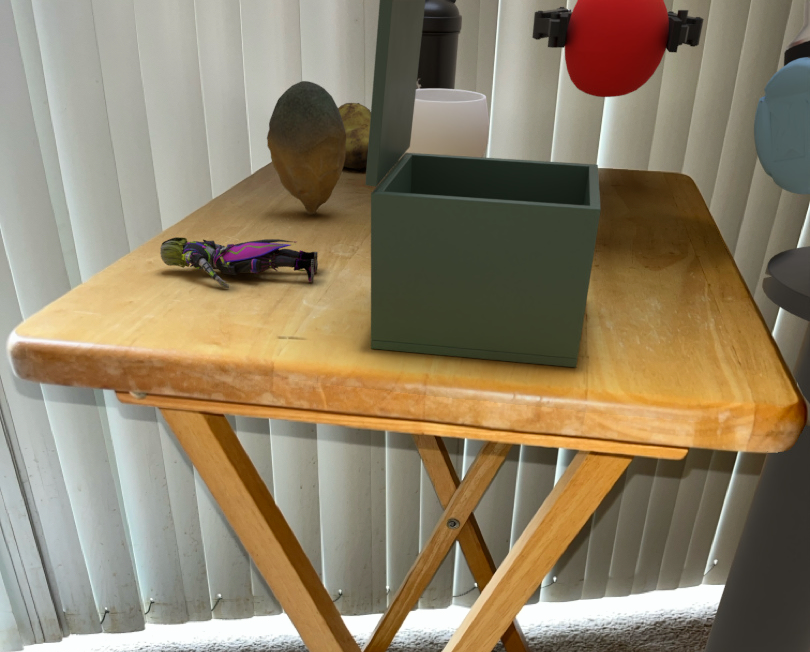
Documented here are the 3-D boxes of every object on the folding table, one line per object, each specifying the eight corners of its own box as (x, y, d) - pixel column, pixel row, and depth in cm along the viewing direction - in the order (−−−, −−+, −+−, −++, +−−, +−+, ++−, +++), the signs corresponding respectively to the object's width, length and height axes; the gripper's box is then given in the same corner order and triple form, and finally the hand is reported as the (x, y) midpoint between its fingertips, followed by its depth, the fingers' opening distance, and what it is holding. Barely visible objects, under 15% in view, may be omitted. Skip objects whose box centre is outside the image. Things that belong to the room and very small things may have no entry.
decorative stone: (350, 210, 109) (349, 79, 100) (343, 223, 104) (340, 86, 95) (277, 206, 109) (269, 75, 100) (266, 219, 104) (256, 82, 96)
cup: (498, 241, 99) (511, 99, 90) (423, 254, 94) (428, 105, 86) (448, 219, 106) (455, 85, 97) (375, 230, 102) (376, 90, 93)
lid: (436, -103, 66) (425, -105, 66) (402, -114, 54) (388, -115, 54) (409, 147, 77) (400, 145, 77) (376, 187, 65) (365, 185, 65)
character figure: (321, 266, 91) (174, 254, 91) (321, 231, 89) (170, 218, 89) (309, 296, 84) (149, 283, 84) (309, 258, 81) (144, 245, 81)
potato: (318, 171, 126) (316, 112, 121) (335, 153, 136) (334, 98, 132) (373, 174, 125) (373, 115, 120) (386, 156, 135) (386, 101, 131)
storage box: (577, 303, 83) (597, 164, 75) (576, 367, 70) (600, 209, 63) (402, 288, 85) (405, 152, 78) (370, 348, 73) (370, 193, 65)
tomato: (538, 94, 92) (550, -26, 85) (590, 85, 98) (605, -26, 92) (623, 106, 86) (642, -21, 80) (672, 96, 92) (694, -22, 86)
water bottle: (377, 158, 134) (378, -14, 121) (428, 151, 139) (434, -15, 126) (415, 170, 128) (421, -10, 114) (467, 163, 133) (478, -11, 119)
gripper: (703, 58, 104) (727, 81, 86) (515, 50, 106) (501, 71, 89) (717, -15, 99) (746, -6, 81) (521, -21, 102) (508, -14, 84)
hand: (618, 34), depth 85 cm, fingers closed on tomato, 11 cm apart
